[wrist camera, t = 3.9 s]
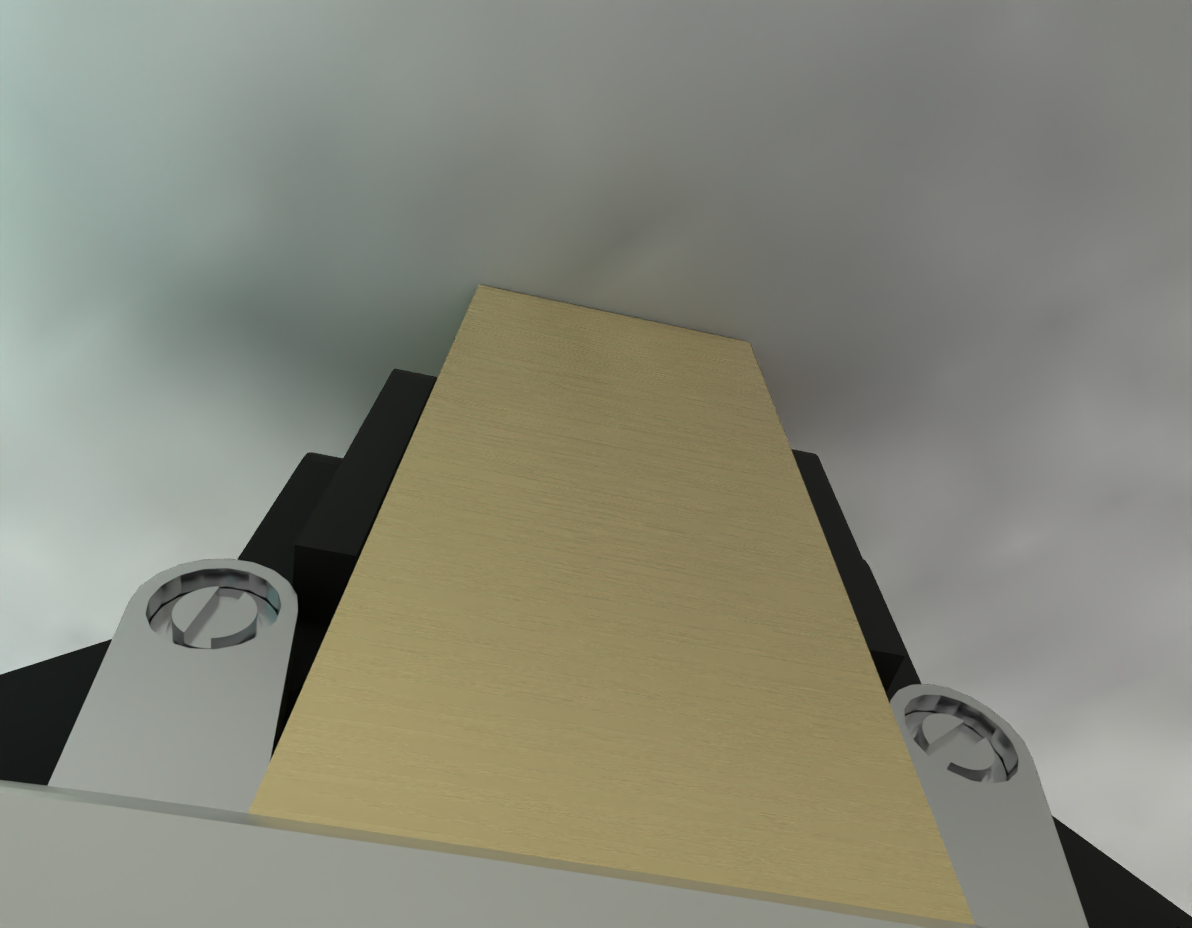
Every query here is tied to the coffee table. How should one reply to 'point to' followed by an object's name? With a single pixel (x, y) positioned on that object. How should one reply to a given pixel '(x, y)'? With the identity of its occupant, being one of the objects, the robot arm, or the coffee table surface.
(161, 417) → the coffee table surface
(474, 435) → the brass peg
